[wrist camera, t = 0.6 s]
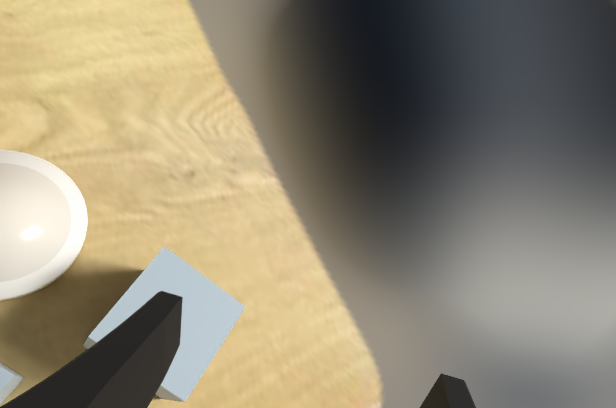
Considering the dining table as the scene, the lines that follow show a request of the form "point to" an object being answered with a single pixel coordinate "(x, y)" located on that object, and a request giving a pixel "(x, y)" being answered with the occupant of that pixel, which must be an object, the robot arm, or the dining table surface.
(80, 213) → the dish
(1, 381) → the cover
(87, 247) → the dining table surface
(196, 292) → the cover
